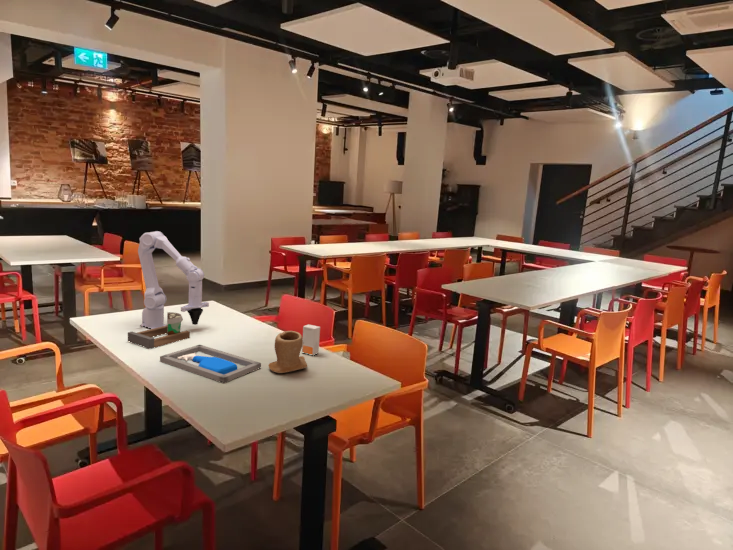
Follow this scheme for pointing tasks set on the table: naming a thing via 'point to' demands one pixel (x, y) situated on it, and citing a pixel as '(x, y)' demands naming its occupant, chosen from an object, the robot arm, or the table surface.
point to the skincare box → (311, 339)
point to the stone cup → (288, 353)
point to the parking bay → (165, 339)
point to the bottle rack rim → (173, 361)
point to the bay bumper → (141, 339)
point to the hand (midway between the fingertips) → (194, 324)
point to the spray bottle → (211, 363)
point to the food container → (173, 322)
